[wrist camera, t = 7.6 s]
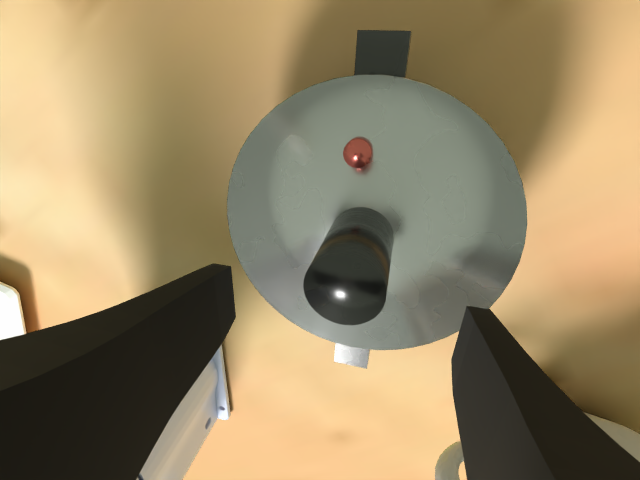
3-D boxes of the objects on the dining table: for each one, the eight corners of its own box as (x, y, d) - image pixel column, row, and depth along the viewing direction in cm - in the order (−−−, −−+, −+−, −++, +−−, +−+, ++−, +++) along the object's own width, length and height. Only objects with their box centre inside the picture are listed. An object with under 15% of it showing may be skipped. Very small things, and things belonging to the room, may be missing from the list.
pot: (450, 338, 21) (457, 392, 17) (278, 306, 23) (254, 348, 20) (529, 41, 14) (568, 32, 10) (271, 36, 16) (231, 27, 13)
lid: (496, 353, 16) (524, 453, 12) (255, 326, 19) (211, 398, 15) (553, 59, 11) (639, 52, 7) (210, 86, 14) (121, 93, 10)
